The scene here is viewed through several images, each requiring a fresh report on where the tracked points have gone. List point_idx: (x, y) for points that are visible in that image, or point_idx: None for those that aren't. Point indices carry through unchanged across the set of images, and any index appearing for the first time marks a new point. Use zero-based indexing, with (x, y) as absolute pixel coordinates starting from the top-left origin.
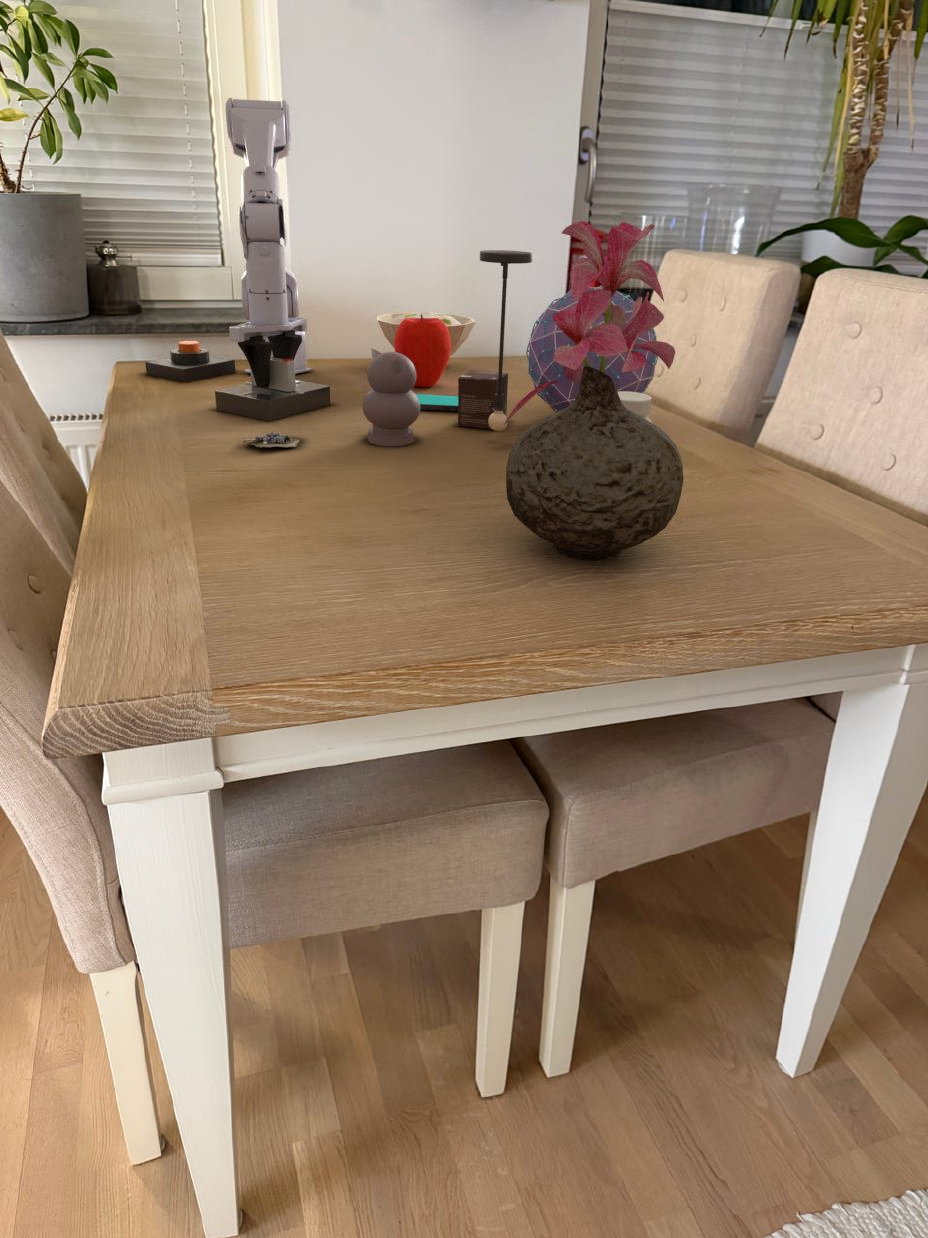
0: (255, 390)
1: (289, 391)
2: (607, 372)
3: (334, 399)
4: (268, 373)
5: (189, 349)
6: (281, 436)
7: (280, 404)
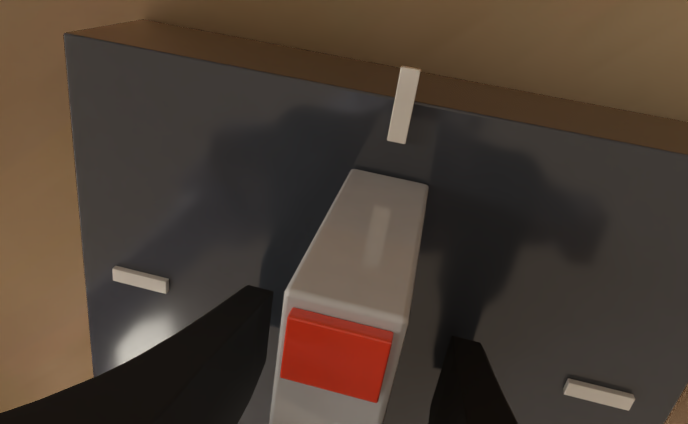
0: None
1: (422, 184)
2: None
3: (29, 78)
4: (477, 399)
5: None
6: None
7: (631, 132)
